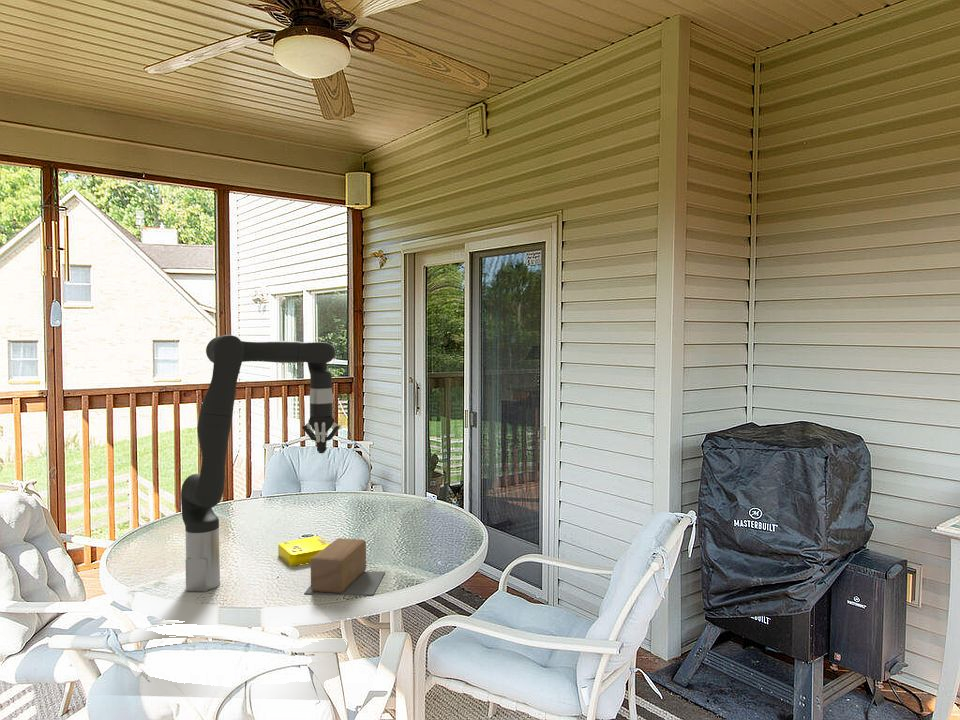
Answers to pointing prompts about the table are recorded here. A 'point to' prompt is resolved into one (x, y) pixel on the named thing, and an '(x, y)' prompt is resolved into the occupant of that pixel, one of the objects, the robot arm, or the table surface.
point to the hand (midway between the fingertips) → (321, 452)
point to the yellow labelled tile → (301, 550)
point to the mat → (357, 585)
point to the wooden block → (338, 565)
